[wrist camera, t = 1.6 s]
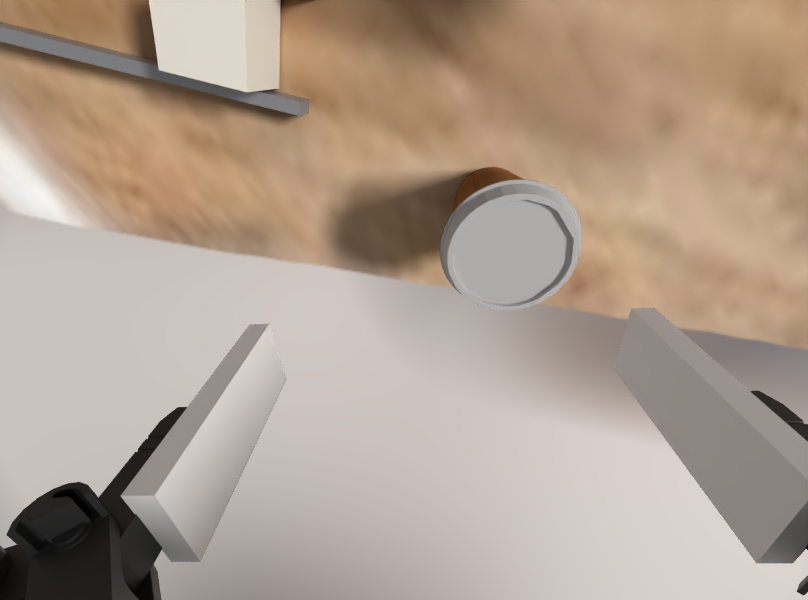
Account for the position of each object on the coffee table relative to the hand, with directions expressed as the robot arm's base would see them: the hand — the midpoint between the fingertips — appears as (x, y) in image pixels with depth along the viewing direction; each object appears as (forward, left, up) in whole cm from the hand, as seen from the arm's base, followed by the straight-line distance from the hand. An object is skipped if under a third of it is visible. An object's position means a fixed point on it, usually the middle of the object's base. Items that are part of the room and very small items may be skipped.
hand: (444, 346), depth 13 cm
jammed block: (-7, -18, -23) cm, 30 cm away
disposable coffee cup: (+1, +5, -24) cm, 24 cm away
